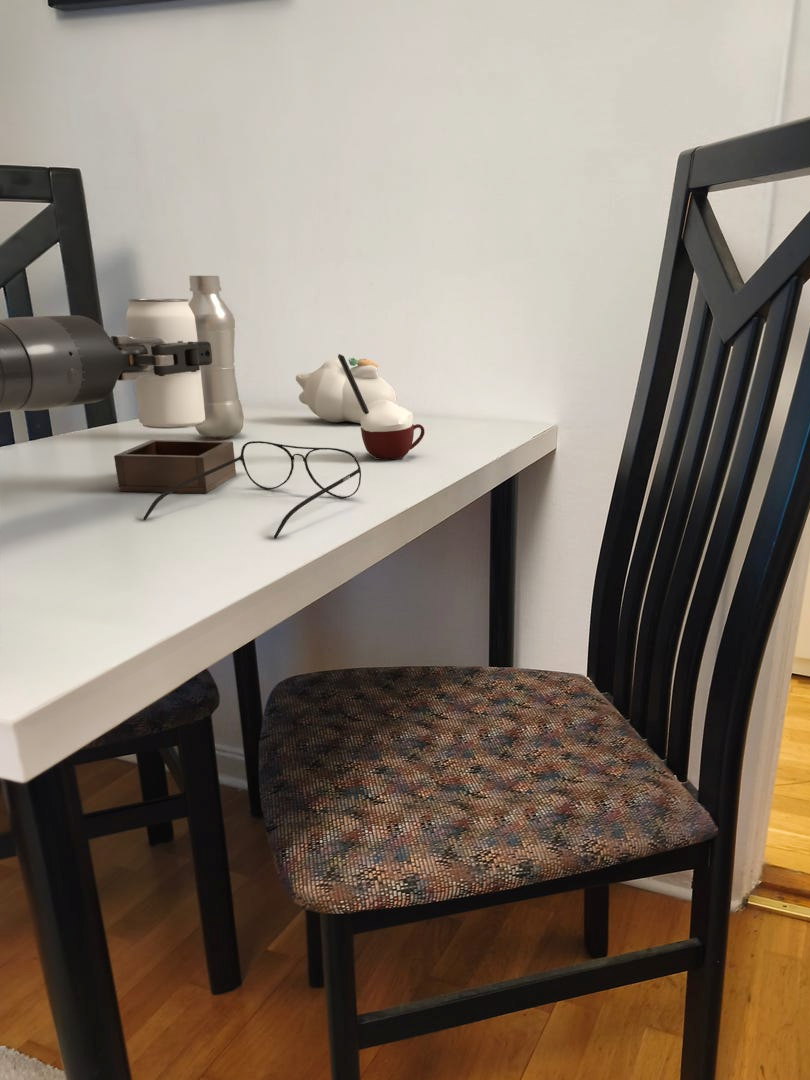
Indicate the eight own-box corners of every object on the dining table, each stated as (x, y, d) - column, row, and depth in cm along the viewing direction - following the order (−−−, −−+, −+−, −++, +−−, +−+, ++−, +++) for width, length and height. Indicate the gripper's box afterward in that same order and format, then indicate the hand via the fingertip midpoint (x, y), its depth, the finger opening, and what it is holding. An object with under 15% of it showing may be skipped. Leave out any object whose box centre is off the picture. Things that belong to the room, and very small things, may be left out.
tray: (118, 491, 90) (113, 455, 88) (155, 472, 98) (151, 439, 97) (207, 493, 89) (203, 457, 88) (236, 474, 98) (233, 441, 96)
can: (190, 418, 95) (177, 298, 91) (216, 425, 91) (204, 299, 86) (129, 423, 91) (113, 298, 87) (154, 431, 87) (137, 299, 82)
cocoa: (425, 452, 110) (424, 351, 105) (421, 462, 104) (419, 355, 100) (349, 451, 110) (344, 350, 106) (340, 461, 104) (335, 355, 100)
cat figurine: (401, 356, 128) (300, 341, 129) (389, 391, 123) (284, 376, 124) (403, 408, 136) (308, 394, 137) (391, 444, 131) (292, 429, 132)
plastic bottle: (184, 440, 117) (165, 275, 109) (213, 431, 123) (197, 275, 115) (228, 443, 115) (211, 276, 107) (255, 434, 121) (241, 275, 113)
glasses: (366, 500, 87) (361, 450, 85) (279, 558, 75) (270, 501, 73) (246, 486, 92) (238, 438, 90) (146, 537, 80) (134, 484, 78)
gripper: (102, 318, 72) (234, 313, 86) (-21, 314, 78) (122, 310, 92) (116, 412, 75) (241, 393, 89) (-5, 403, 80) (132, 386, 95)
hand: (180, 351), depth 90 cm, fingers closed on can, 6 cm apart
